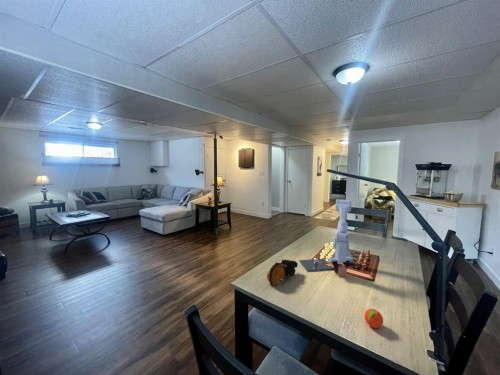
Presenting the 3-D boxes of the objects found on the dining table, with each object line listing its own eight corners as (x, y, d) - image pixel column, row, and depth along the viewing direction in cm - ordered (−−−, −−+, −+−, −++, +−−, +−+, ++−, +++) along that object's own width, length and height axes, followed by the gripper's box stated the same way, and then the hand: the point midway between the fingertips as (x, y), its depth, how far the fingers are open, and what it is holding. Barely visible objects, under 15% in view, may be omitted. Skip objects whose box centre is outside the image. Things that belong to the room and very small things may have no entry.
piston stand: (323, 259, 153) (323, 253, 152) (333, 269, 139) (333, 262, 138) (299, 261, 150) (299, 254, 150) (307, 271, 136) (307, 264, 136)
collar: (341, 272, 136) (342, 263, 135) (346, 276, 131) (346, 266, 130) (334, 272, 135) (334, 263, 134) (338, 276, 130) (339, 267, 129)
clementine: (376, 336, 86) (378, 319, 85) (359, 325, 91) (360, 310, 91) (385, 327, 90) (386, 311, 90) (368, 317, 96) (369, 302, 95)
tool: (295, 287, 131) (301, 263, 134) (273, 288, 116) (280, 260, 118) (284, 281, 137) (290, 258, 139) (262, 281, 122) (269, 255, 124)
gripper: (333, 254, 126) (332, 276, 128) (356, 253, 128) (355, 274, 130) (327, 249, 133) (326, 270, 135) (349, 248, 135) (348, 269, 137)
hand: (340, 272), depth 133 cm, fingers closed on collar, 5 cm apart
